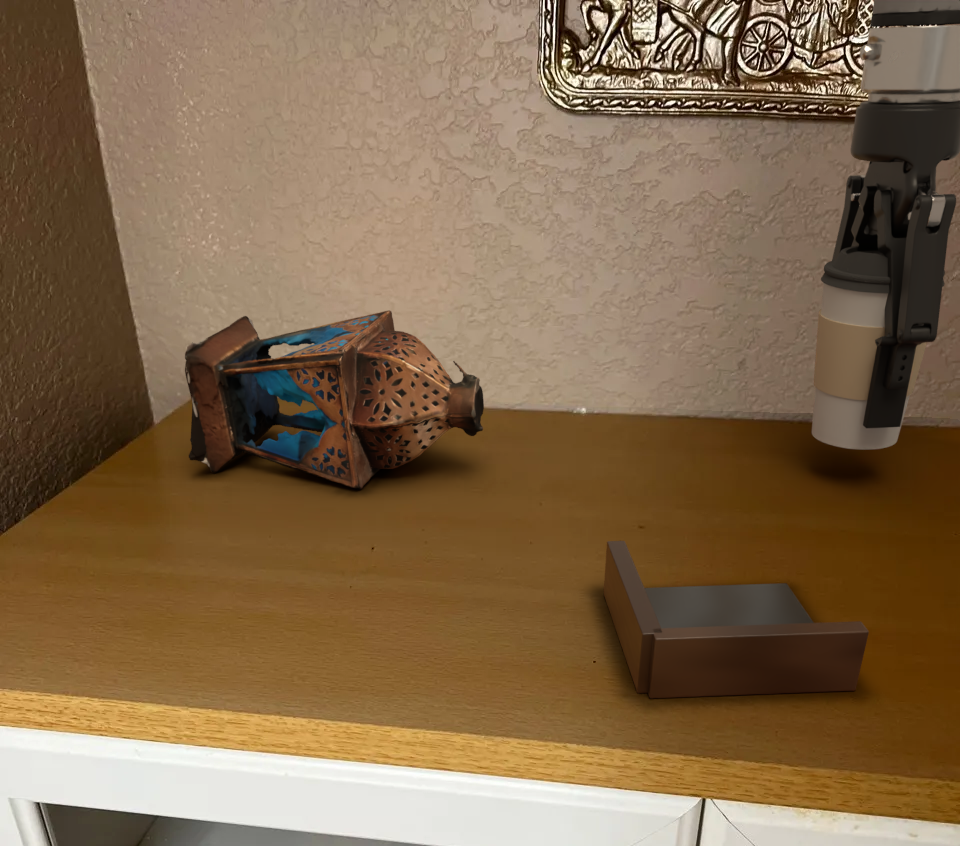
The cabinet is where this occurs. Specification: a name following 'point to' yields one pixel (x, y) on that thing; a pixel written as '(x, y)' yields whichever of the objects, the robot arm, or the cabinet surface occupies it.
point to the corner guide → (725, 638)
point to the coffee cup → (852, 350)
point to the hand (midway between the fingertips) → (858, 407)
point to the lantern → (325, 398)
